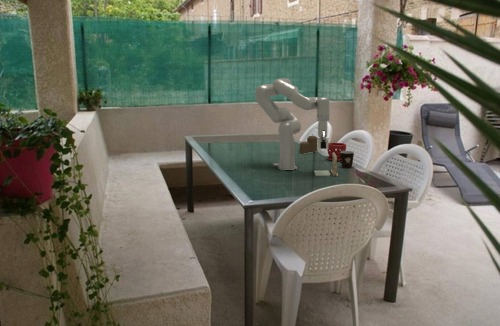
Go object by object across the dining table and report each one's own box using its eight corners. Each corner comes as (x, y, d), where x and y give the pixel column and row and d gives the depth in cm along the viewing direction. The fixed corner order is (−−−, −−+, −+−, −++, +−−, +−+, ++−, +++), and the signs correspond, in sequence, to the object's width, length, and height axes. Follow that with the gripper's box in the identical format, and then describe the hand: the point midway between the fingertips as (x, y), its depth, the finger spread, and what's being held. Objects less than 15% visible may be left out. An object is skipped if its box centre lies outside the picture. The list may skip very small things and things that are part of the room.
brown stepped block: (316, 150, 339) (316, 132, 335) (317, 154, 325) (318, 134, 322) (299, 150, 340) (299, 132, 336) (300, 154, 326) (300, 135, 323)
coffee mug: (355, 166, 282) (355, 151, 280) (351, 168, 275) (351, 153, 272) (338, 164, 288) (338, 150, 286) (334, 167, 280) (334, 152, 278)
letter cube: (318, 149, 258) (318, 139, 257) (317, 147, 264) (317, 137, 263) (329, 149, 258) (329, 139, 256) (328, 147, 264) (328, 137, 262)
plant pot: (345, 162, 295) (346, 145, 292) (326, 161, 297) (327, 145, 295) (345, 158, 307) (346, 142, 305) (327, 158, 310) (327, 141, 307)
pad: (315, 175, 259) (315, 174, 259) (314, 171, 270) (314, 170, 270) (330, 175, 259) (330, 174, 259) (328, 171, 269) (328, 170, 269)
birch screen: (333, 176, 258) (333, 156, 255) (330, 171, 270) (331, 152, 268) (338, 176, 257) (338, 156, 255) (335, 171, 270) (335, 152, 267)
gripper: (315, 116, 266) (315, 145, 269) (317, 119, 249) (317, 150, 253) (327, 116, 265) (327, 144, 269) (330, 119, 248) (330, 149, 252)
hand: (322, 147), depth 261 cm, fingers closed on letter cube, 6 cm apart
